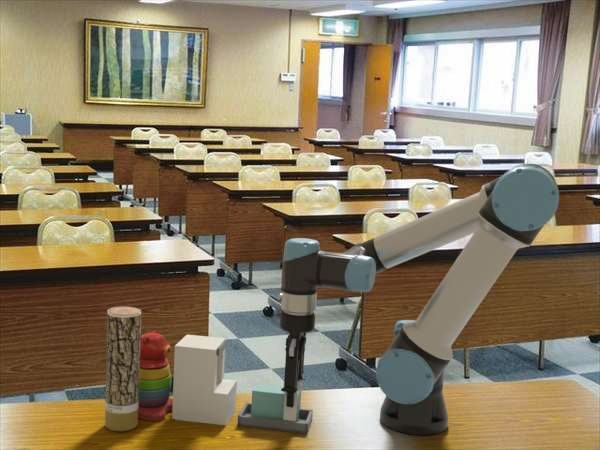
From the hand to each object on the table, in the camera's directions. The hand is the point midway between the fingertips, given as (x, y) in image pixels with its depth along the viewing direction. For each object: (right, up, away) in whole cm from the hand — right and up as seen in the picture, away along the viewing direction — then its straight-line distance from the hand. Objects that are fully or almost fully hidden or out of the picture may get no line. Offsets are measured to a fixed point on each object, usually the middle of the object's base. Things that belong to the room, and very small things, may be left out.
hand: (291, 414), depth 168 cm
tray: (-4, -2, +1) cm, 4 cm away
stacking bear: (-31, 0, +4) cm, 32 cm away
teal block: (-4, -2, +1) cm, 4 cm away
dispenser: (-19, -1, +3) cm, 20 cm away
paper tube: (-36, -1, -6) cm, 36 cm away
